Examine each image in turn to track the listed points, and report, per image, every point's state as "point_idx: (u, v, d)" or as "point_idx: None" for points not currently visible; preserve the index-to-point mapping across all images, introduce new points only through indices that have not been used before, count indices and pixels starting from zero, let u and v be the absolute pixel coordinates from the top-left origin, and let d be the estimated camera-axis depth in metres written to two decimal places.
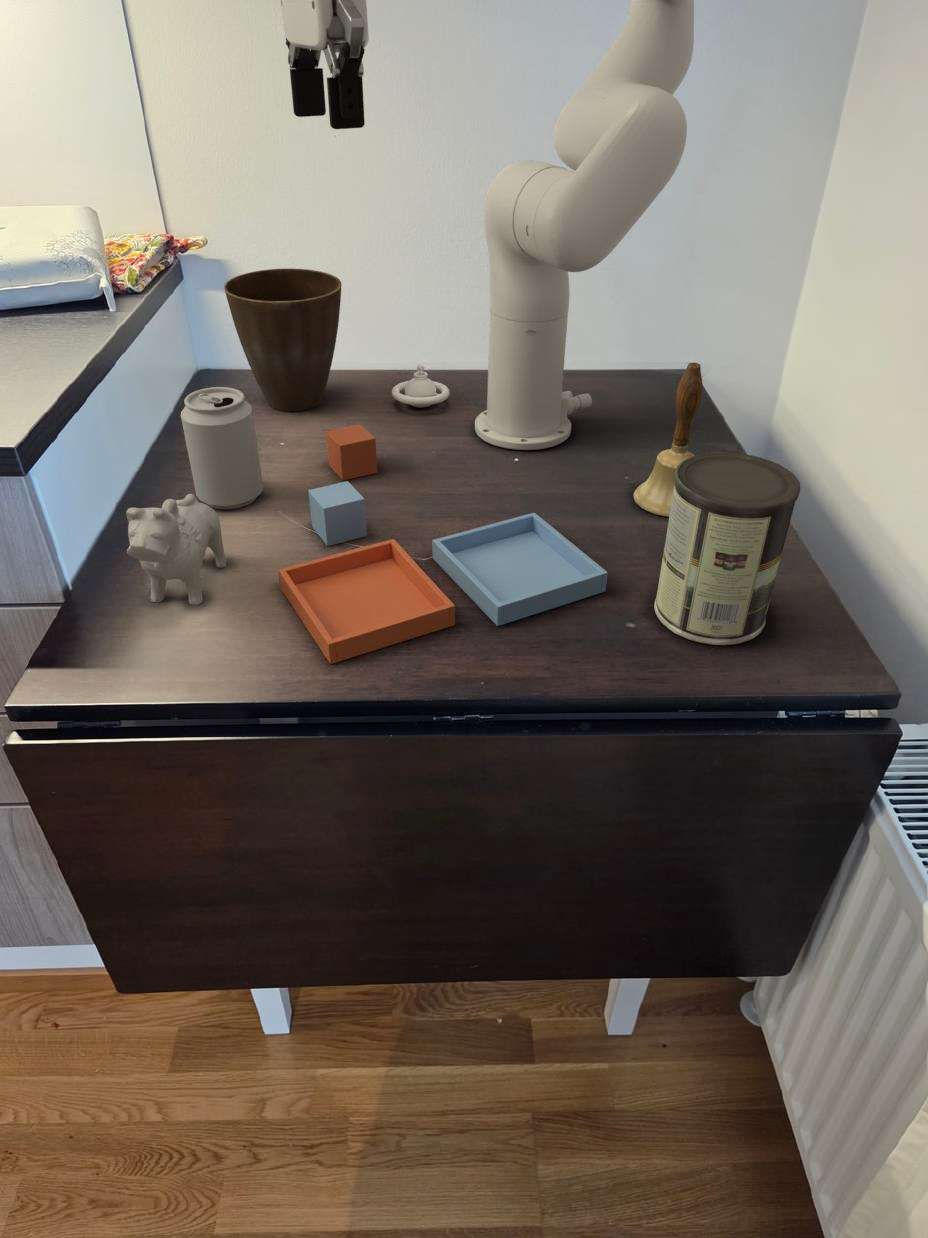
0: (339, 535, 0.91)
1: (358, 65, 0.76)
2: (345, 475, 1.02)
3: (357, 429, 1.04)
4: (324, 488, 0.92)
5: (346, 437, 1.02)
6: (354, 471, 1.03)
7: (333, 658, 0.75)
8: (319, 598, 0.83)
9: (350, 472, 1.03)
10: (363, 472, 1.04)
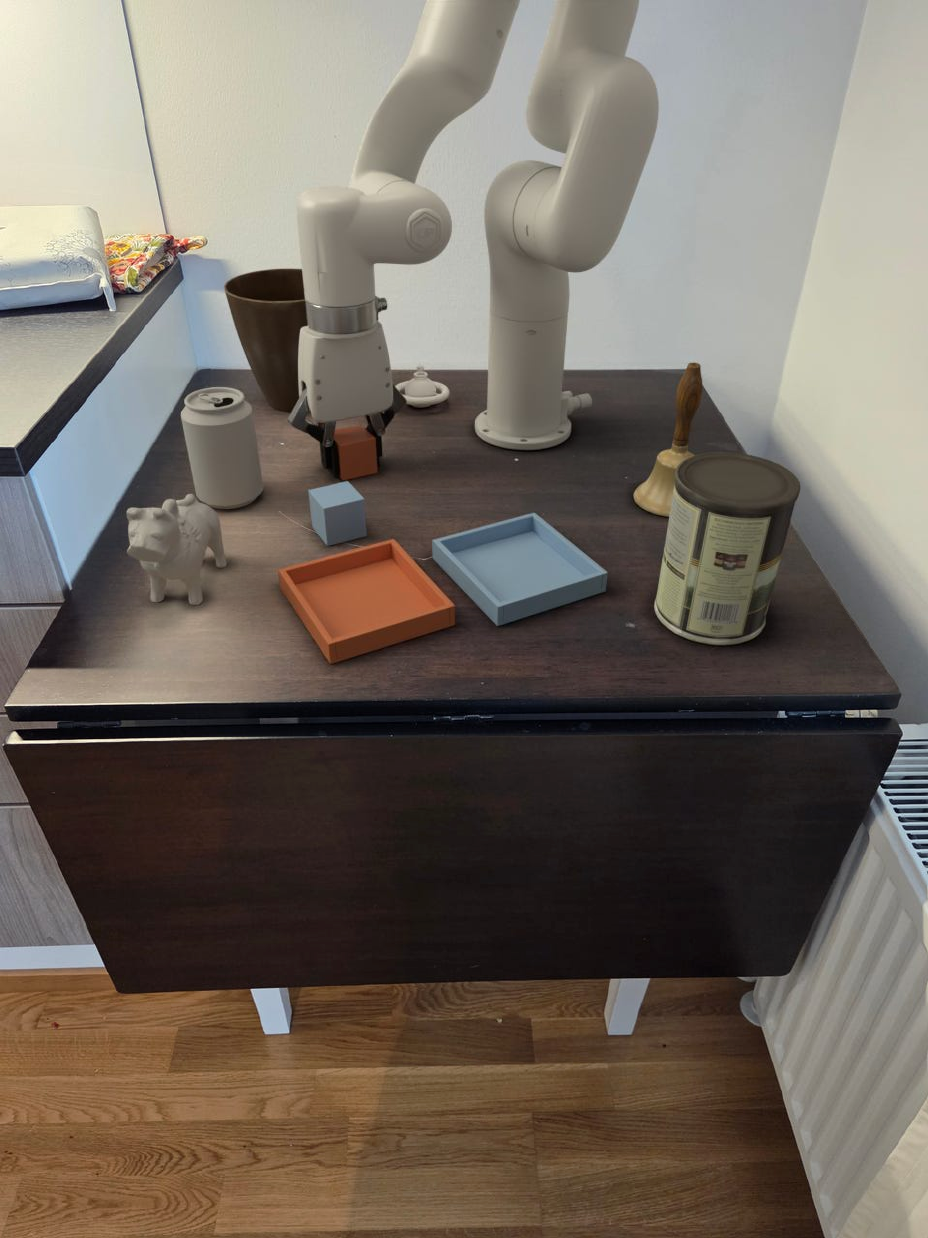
0: (339, 535, 0.91)
1: None
2: (345, 475, 1.02)
3: (357, 429, 1.04)
4: (324, 488, 0.92)
5: (346, 437, 1.02)
6: (354, 471, 1.03)
7: (333, 658, 0.75)
8: (319, 598, 0.83)
9: (350, 472, 1.03)
10: (363, 473, 1.04)
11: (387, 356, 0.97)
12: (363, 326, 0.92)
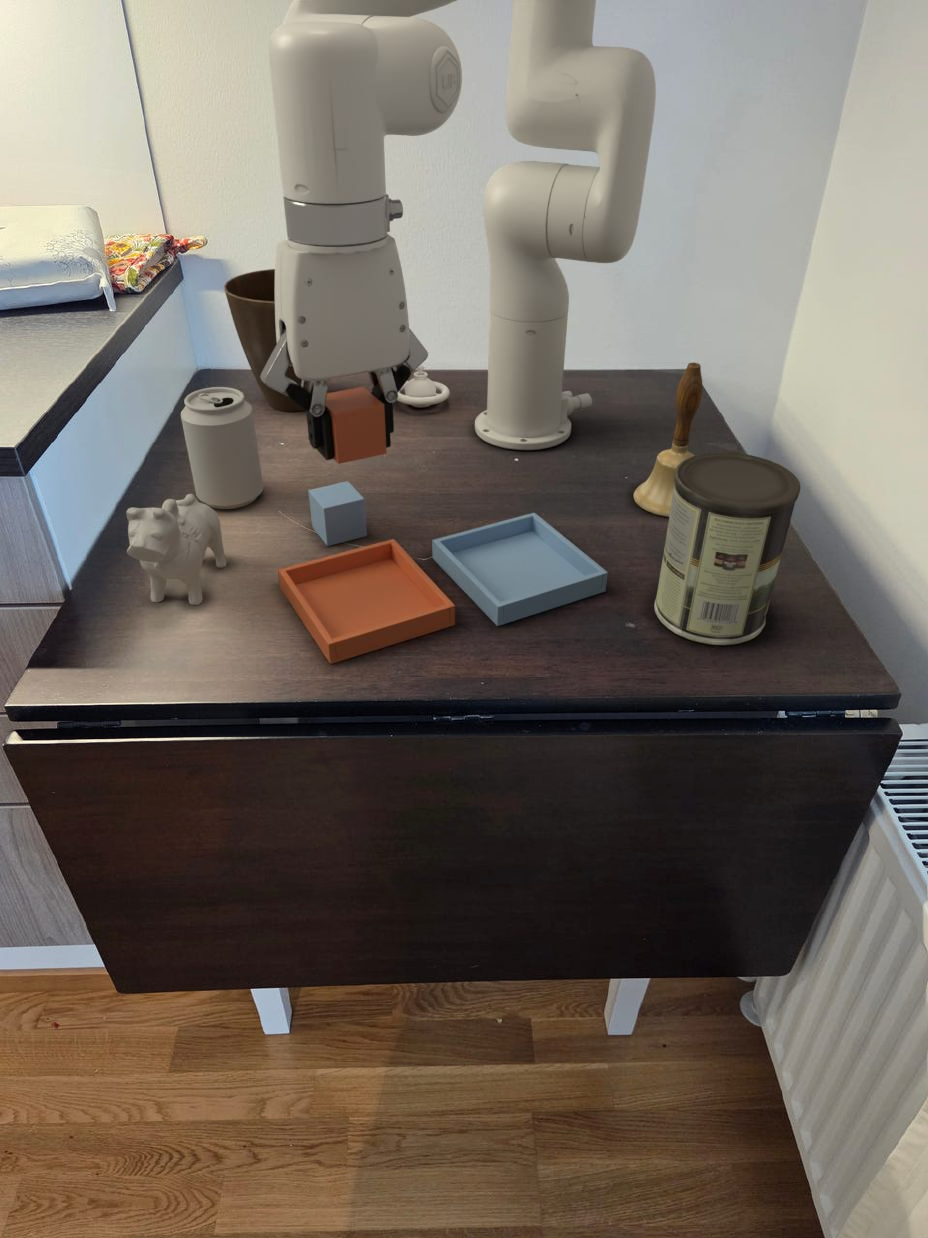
0: (339, 535, 0.91)
1: None
2: (341, 456, 0.73)
3: (358, 393, 0.74)
4: (324, 488, 0.92)
5: (343, 402, 0.73)
6: (354, 451, 0.74)
7: (333, 658, 0.75)
8: (319, 598, 0.83)
9: (349, 452, 0.73)
10: (367, 453, 0.74)
11: (402, 285, 0.68)
12: (368, 236, 0.63)
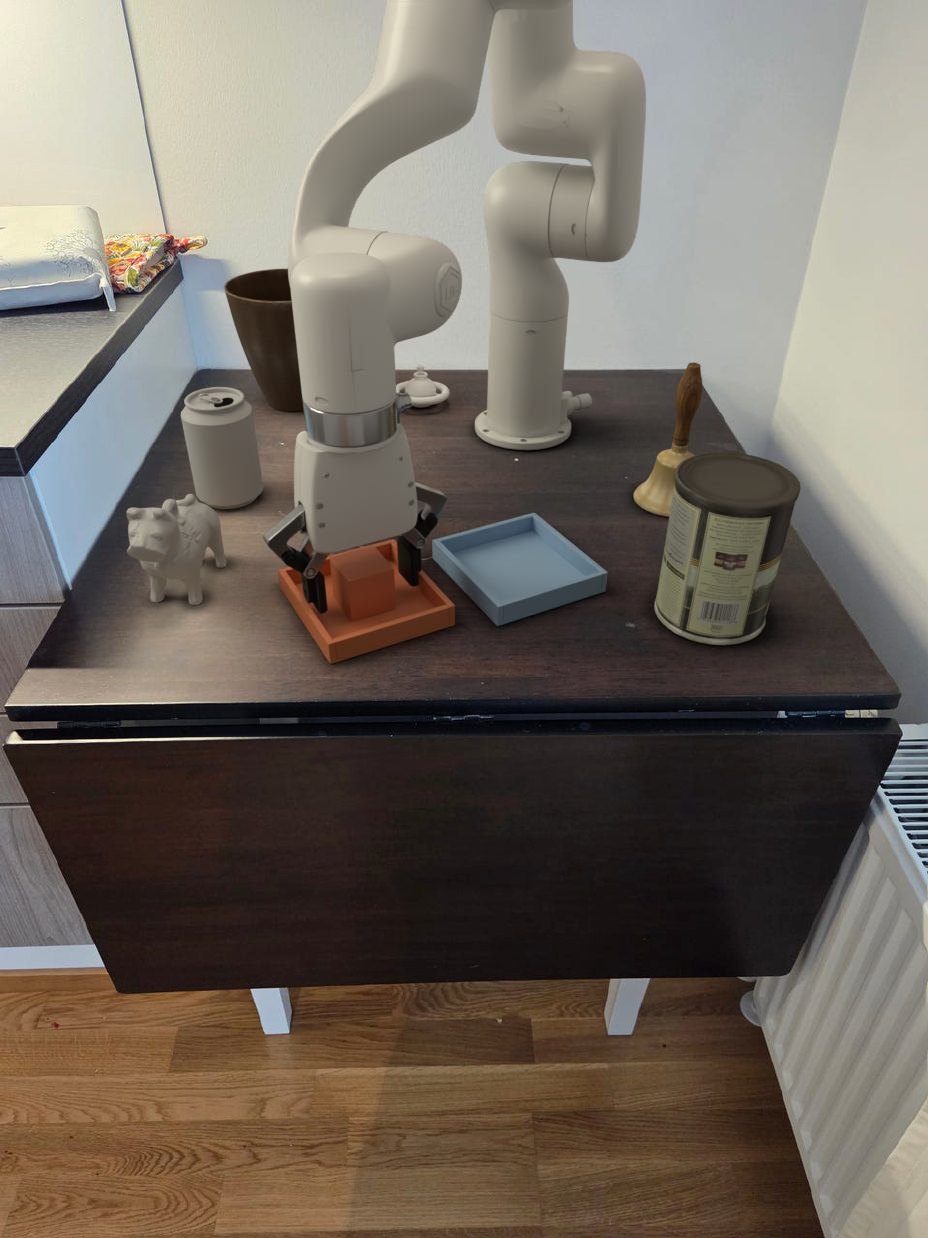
0: None
1: None
2: (354, 615, 0.79)
3: (370, 554, 0.80)
4: None
5: (356, 567, 0.79)
6: (366, 610, 0.80)
7: (333, 658, 0.75)
8: None
9: (361, 611, 0.79)
10: (378, 610, 0.80)
11: (411, 468, 0.74)
12: (380, 436, 0.69)
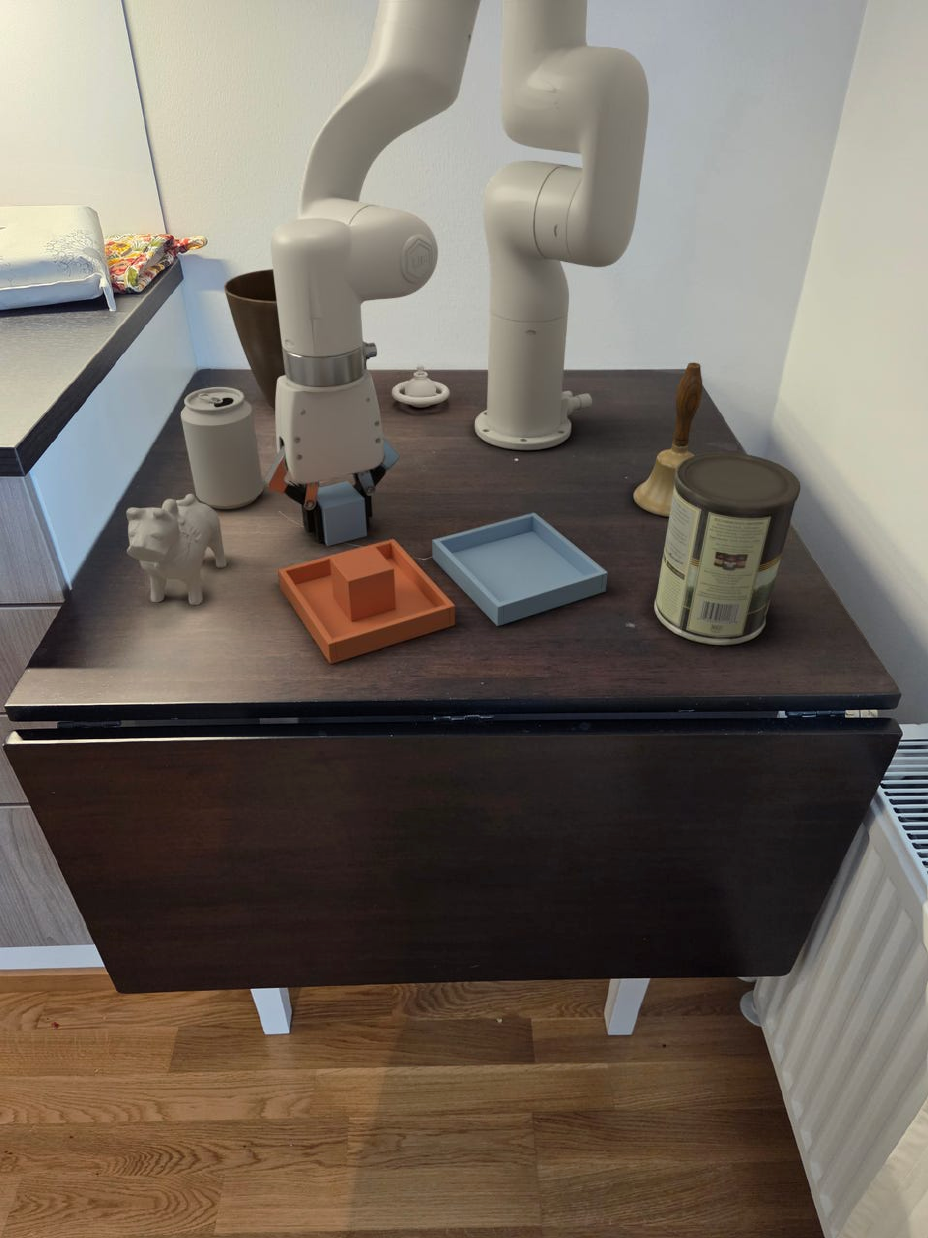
0: (339, 535, 0.91)
1: None
2: (354, 615, 0.79)
3: (370, 554, 0.80)
4: (324, 488, 0.92)
5: (356, 567, 0.79)
6: (366, 610, 0.80)
7: (333, 658, 0.75)
8: (319, 598, 0.83)
9: (361, 611, 0.79)
10: (378, 610, 0.80)
11: (377, 408, 0.85)
12: (349, 377, 0.80)
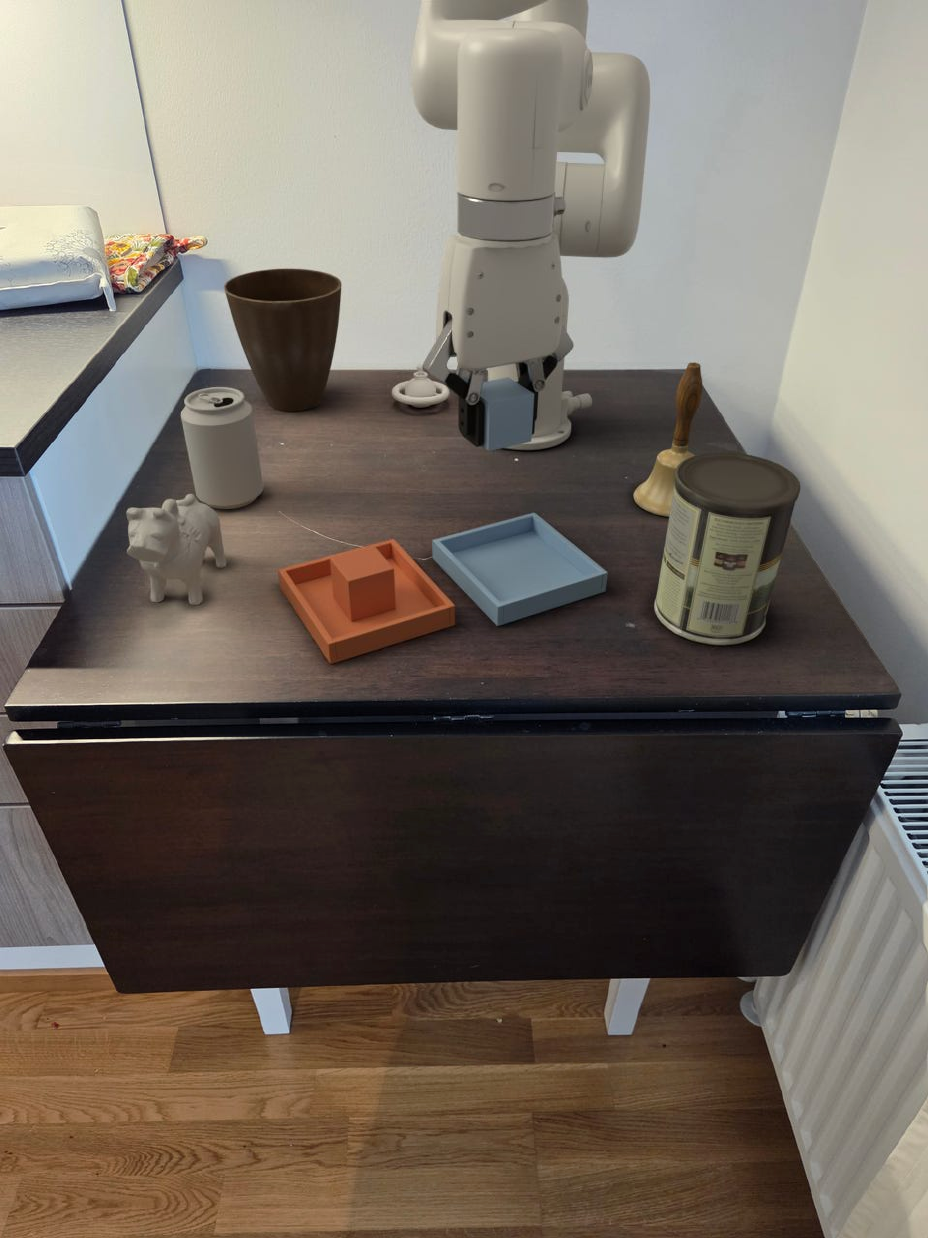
0: (502, 438, 0.77)
1: None
2: (354, 615, 0.79)
3: (370, 554, 0.80)
4: (483, 383, 0.77)
5: (356, 567, 0.79)
6: (366, 610, 0.80)
7: (333, 658, 0.75)
8: (319, 598, 0.83)
9: (361, 611, 0.79)
10: (378, 610, 0.80)
11: (560, 279, 0.71)
12: (539, 231, 0.66)
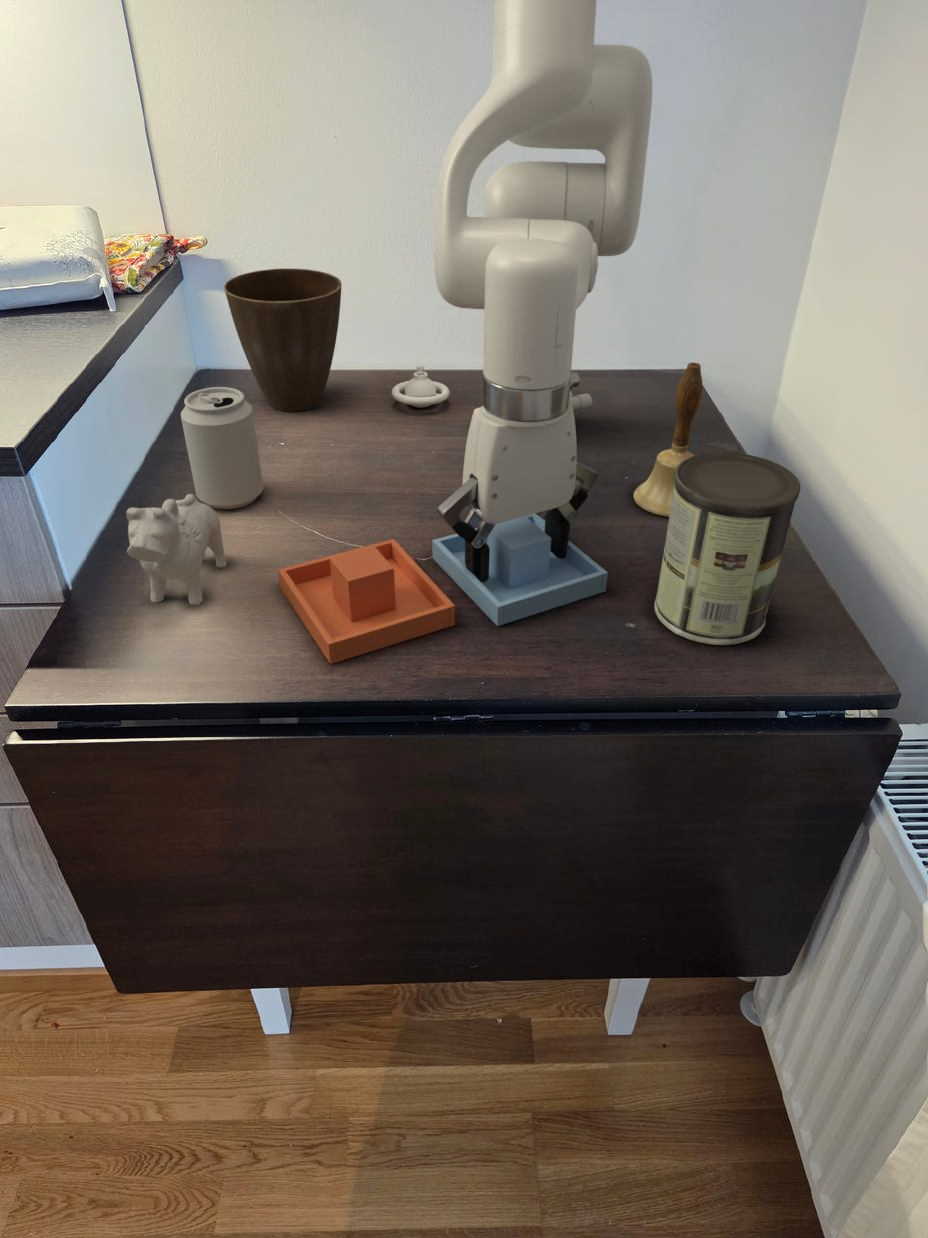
0: (522, 577, 0.84)
1: None
2: (354, 615, 0.79)
3: (370, 554, 0.80)
4: (504, 526, 0.85)
5: (356, 567, 0.79)
6: (366, 610, 0.80)
7: (333, 658, 0.75)
8: (319, 598, 0.83)
9: (361, 611, 0.79)
10: (378, 610, 0.80)
11: (575, 443, 0.79)
12: (557, 411, 0.74)
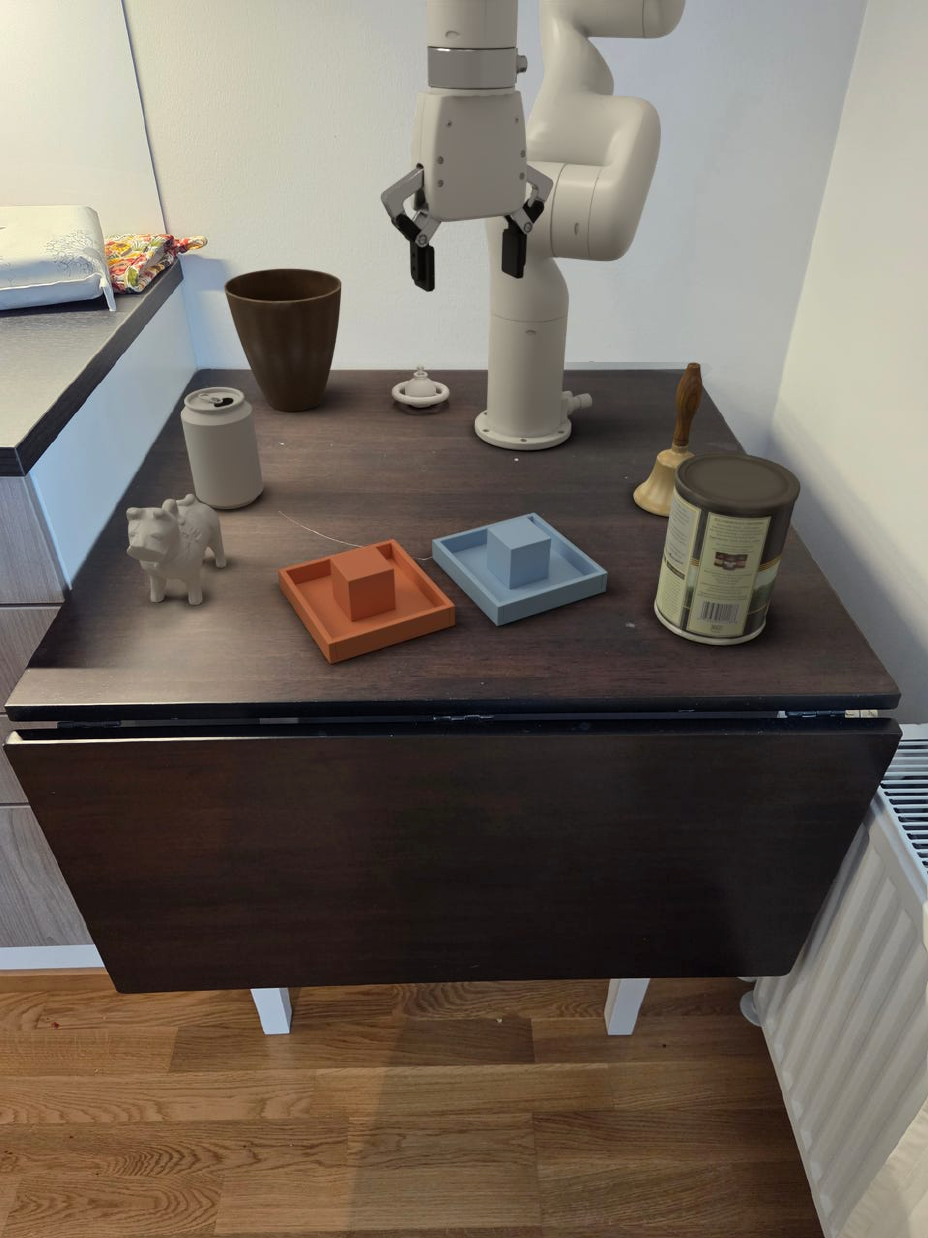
0: (522, 577, 0.84)
1: None
2: (354, 615, 0.79)
3: (370, 554, 0.80)
4: (504, 526, 0.85)
5: (356, 567, 0.79)
6: (366, 610, 0.80)
7: (333, 658, 0.75)
8: (319, 598, 0.83)
9: (361, 611, 0.79)
10: (378, 610, 0.80)
11: (524, 134, 0.77)
12: (503, 81, 0.72)
